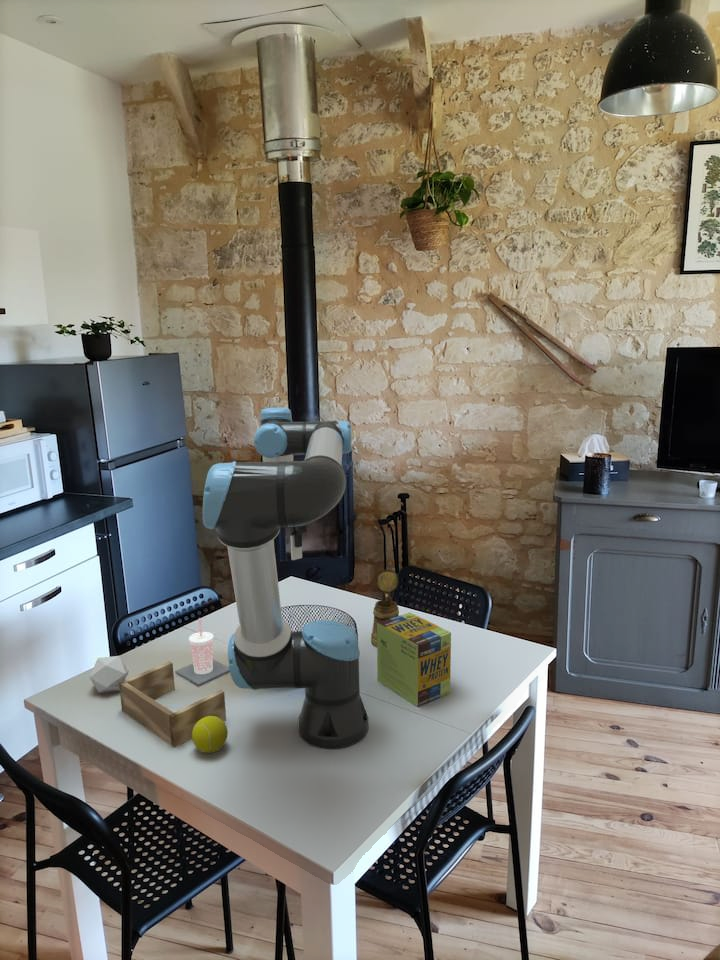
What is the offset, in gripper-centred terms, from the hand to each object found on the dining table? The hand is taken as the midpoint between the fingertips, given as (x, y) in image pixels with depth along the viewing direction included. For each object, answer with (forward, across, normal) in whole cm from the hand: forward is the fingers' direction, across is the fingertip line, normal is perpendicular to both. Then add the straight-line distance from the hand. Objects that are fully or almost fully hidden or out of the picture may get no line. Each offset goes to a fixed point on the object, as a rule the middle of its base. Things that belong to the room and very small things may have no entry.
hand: (282, 552), depth 176 cm
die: (+29, +13, +42) cm, 53 cm away
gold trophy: (+29, -9, -27) cm, 41 cm away
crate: (+29, -8, +35) cm, 46 cm away
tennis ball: (+29, -25, +34) cm, 51 cm away
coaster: (+29, +6, +21) cm, 36 cm away
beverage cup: (+28, +6, +21) cm, 36 cm away
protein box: (+29, -33, -15) cm, 46 cm away
